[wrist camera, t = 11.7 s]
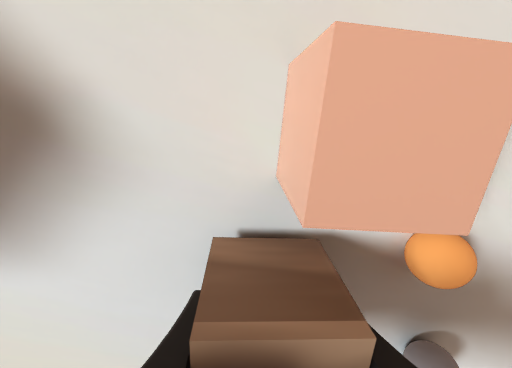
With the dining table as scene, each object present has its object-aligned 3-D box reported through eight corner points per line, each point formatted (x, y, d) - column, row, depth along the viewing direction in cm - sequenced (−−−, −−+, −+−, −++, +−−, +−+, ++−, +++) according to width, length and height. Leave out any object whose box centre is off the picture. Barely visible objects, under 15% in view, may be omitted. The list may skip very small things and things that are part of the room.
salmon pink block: (373, 183, 13) (468, 235, 7) (276, 176, 12) (302, 227, 7) (399, 76, 11) (541, 46, 6) (288, 64, 11) (335, 20, 5)
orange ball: (434, 265, 14) (482, 303, 12) (387, 263, 14) (424, 302, 11) (449, 219, 14) (505, 249, 11) (399, 217, 13) (443, 247, 10)
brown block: (306, 320, 14) (347, 454, 8) (213, 321, 13) (194, 461, 8) (317, 238, 12) (376, 338, 7) (213, 237, 12) (189, 341, 6)
